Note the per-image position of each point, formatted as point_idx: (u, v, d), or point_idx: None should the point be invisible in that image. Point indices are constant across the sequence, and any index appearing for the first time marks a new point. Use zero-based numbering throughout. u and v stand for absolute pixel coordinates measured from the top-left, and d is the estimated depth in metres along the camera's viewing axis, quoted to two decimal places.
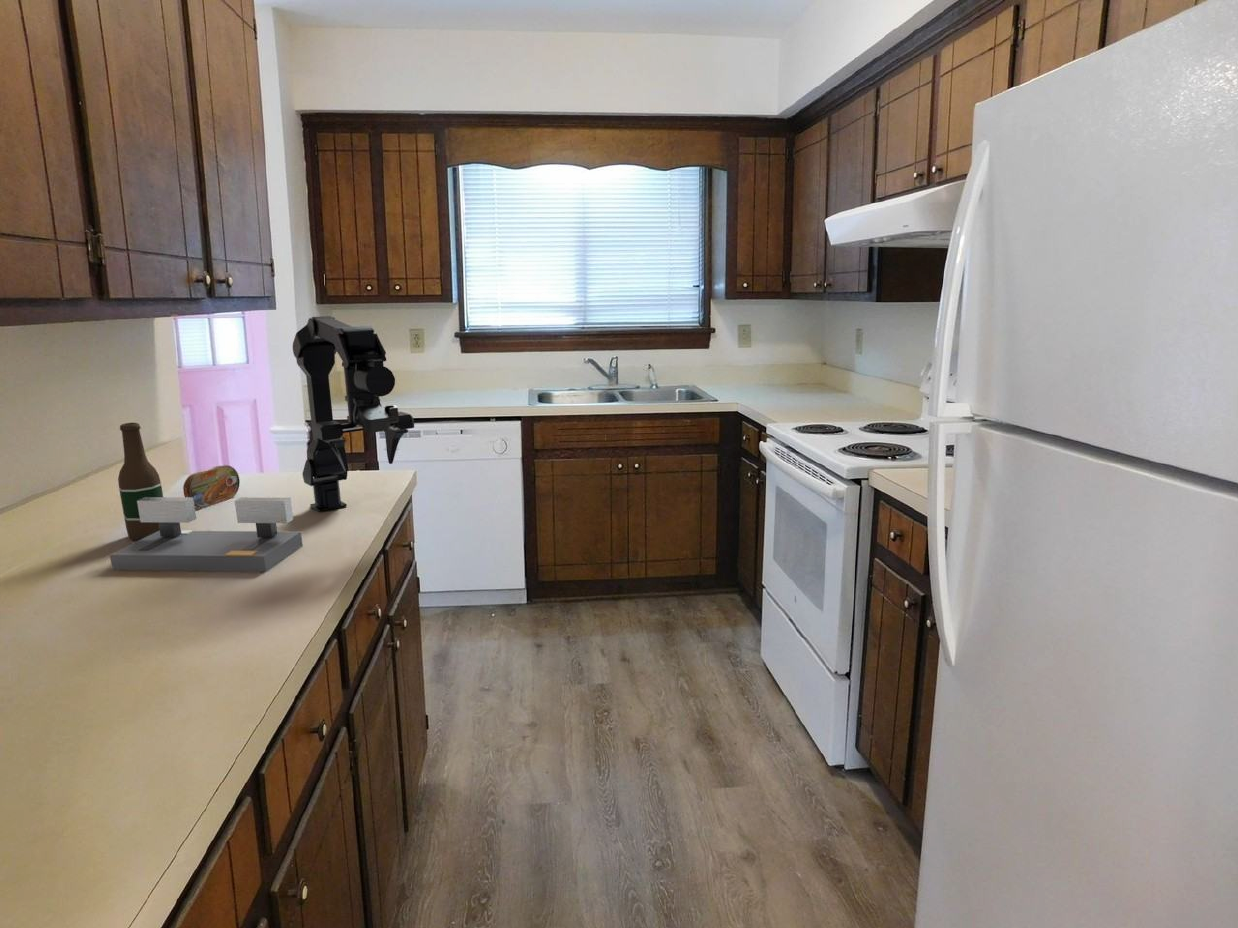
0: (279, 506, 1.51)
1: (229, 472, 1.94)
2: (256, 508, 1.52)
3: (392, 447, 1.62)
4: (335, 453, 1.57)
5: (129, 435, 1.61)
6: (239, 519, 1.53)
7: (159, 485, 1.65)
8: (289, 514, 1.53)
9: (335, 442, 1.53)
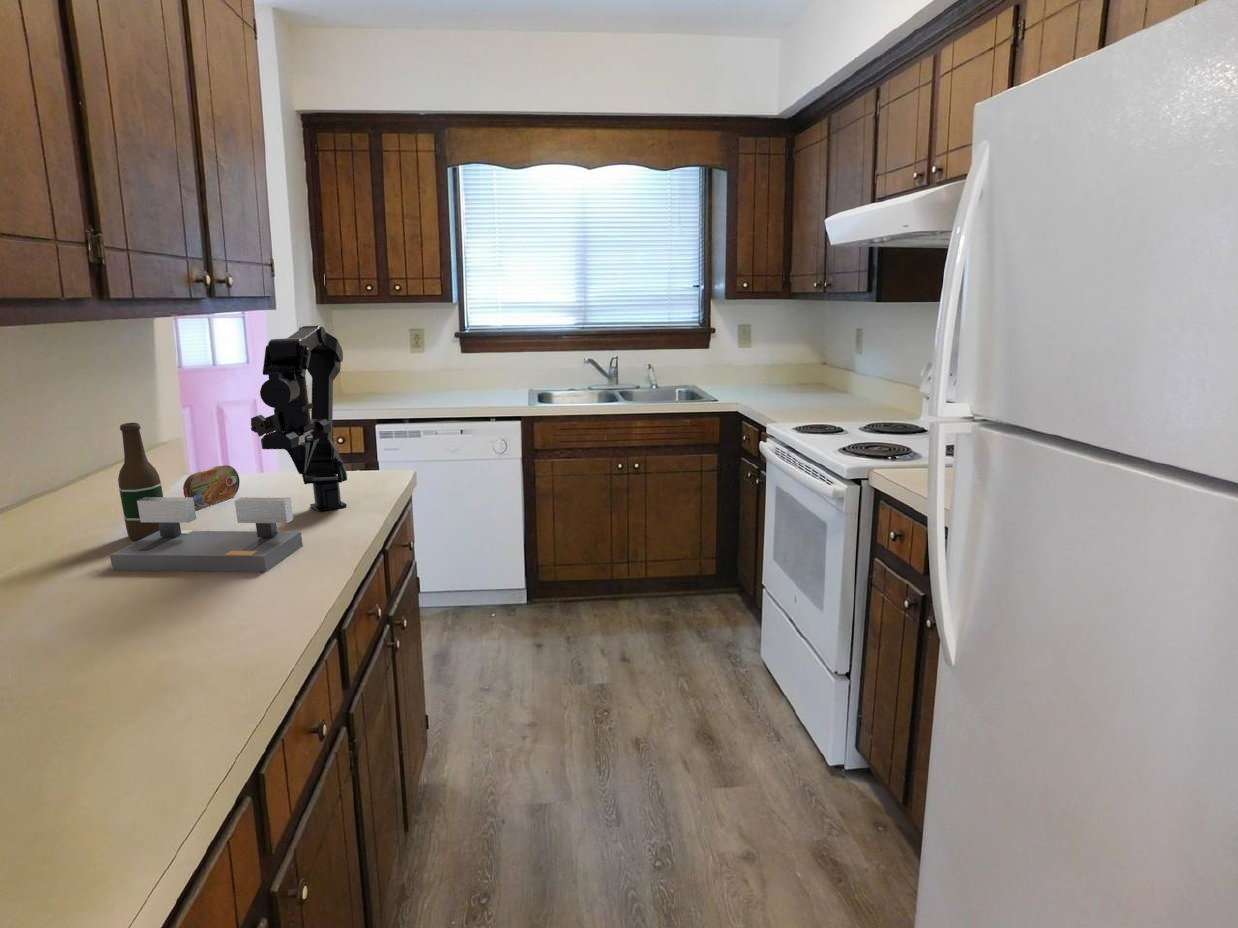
0: (279, 506, 1.51)
1: (228, 472, 1.94)
2: (256, 508, 1.52)
3: None
4: (311, 455, 1.67)
5: (129, 435, 1.61)
6: (239, 519, 1.53)
7: (159, 485, 1.65)
8: (289, 514, 1.53)
9: None
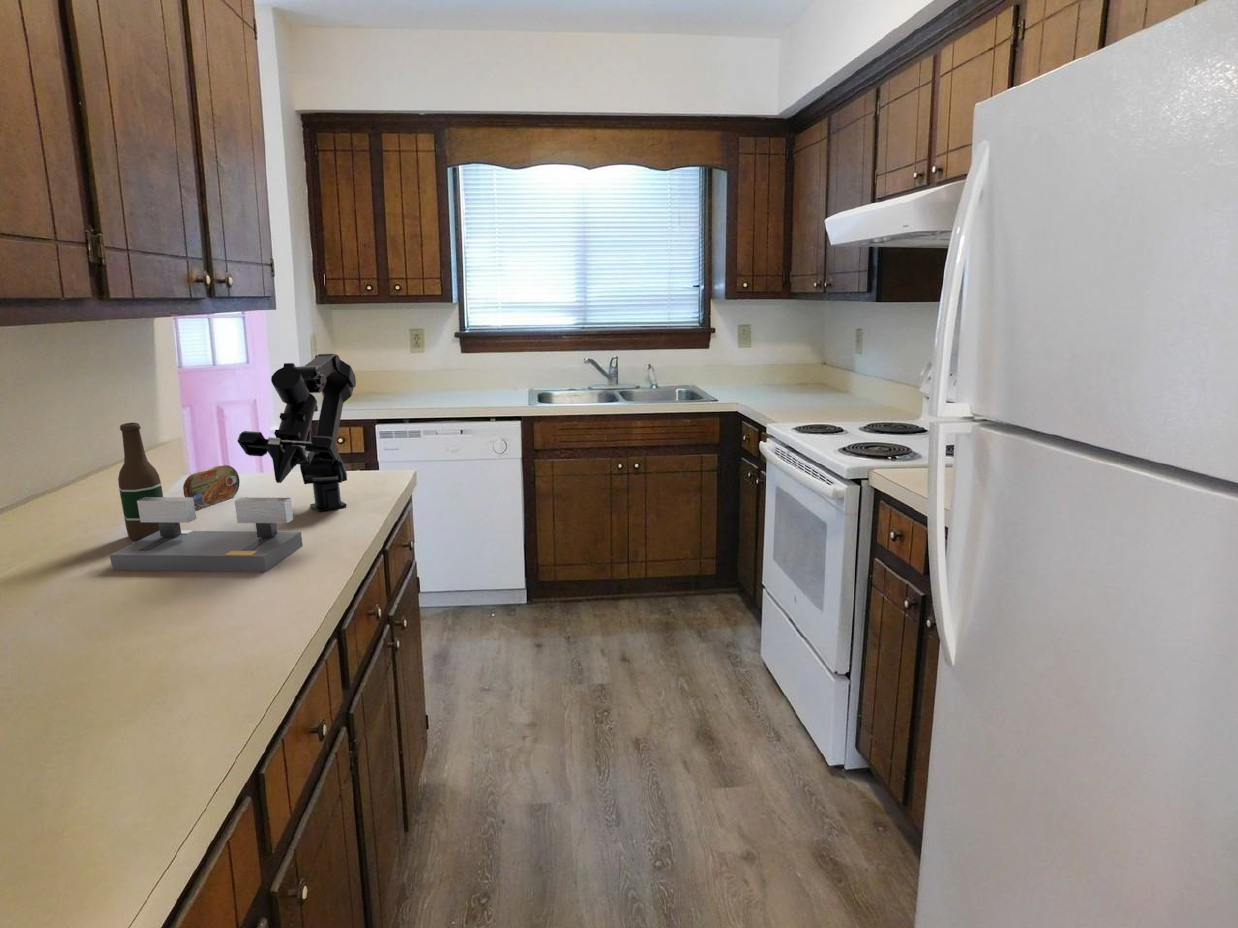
0: (279, 506, 1.51)
1: (228, 472, 1.94)
2: (256, 508, 1.52)
3: None
4: (287, 463, 1.59)
5: (129, 435, 1.61)
6: (239, 519, 1.53)
7: (159, 485, 1.65)
8: (289, 514, 1.53)
9: None
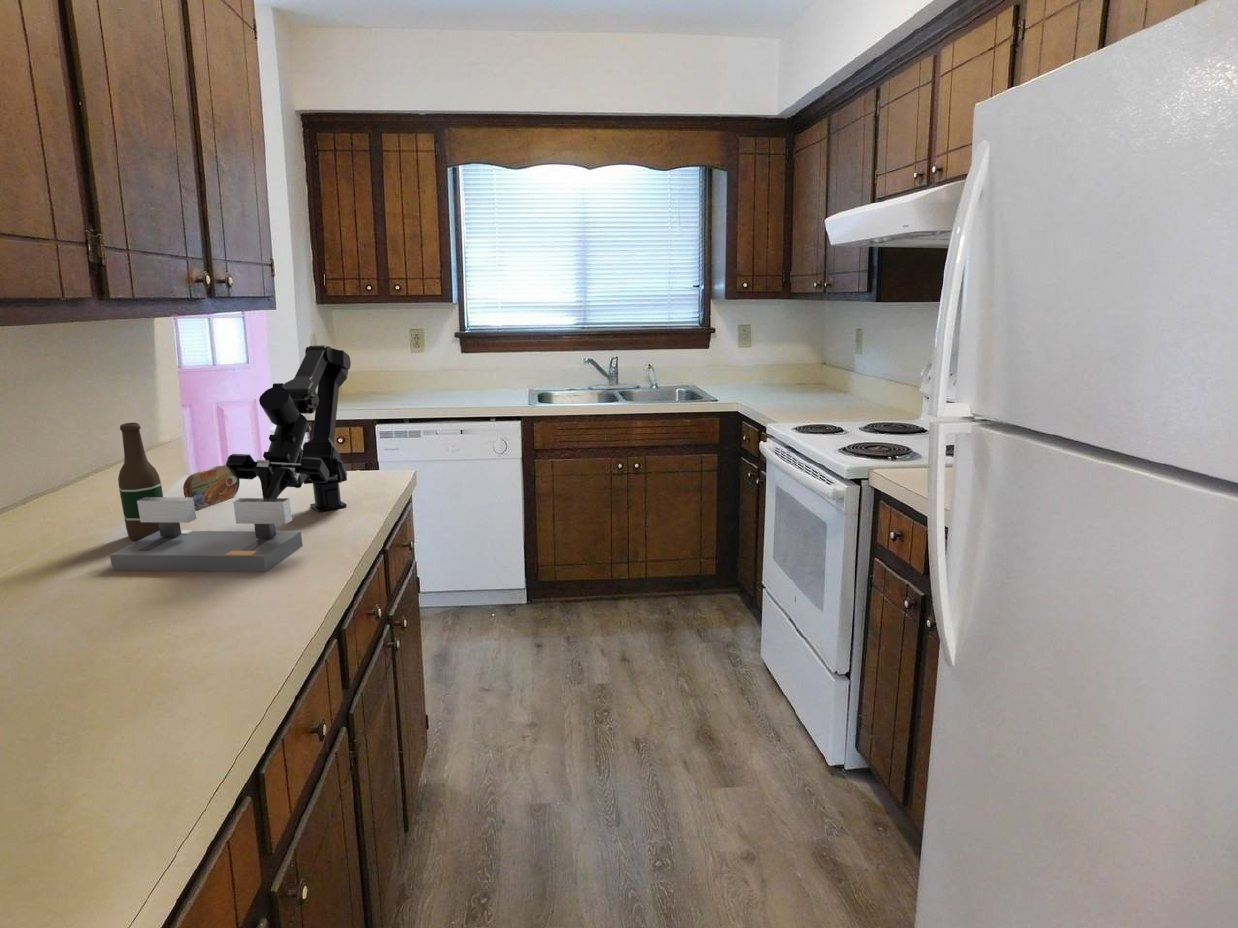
0: (277, 506, 1.51)
1: (228, 472, 1.94)
2: (255, 509, 1.51)
3: None
4: (275, 485, 1.54)
5: (129, 435, 1.61)
6: (238, 520, 1.52)
7: (159, 485, 1.65)
8: (288, 515, 1.52)
9: None
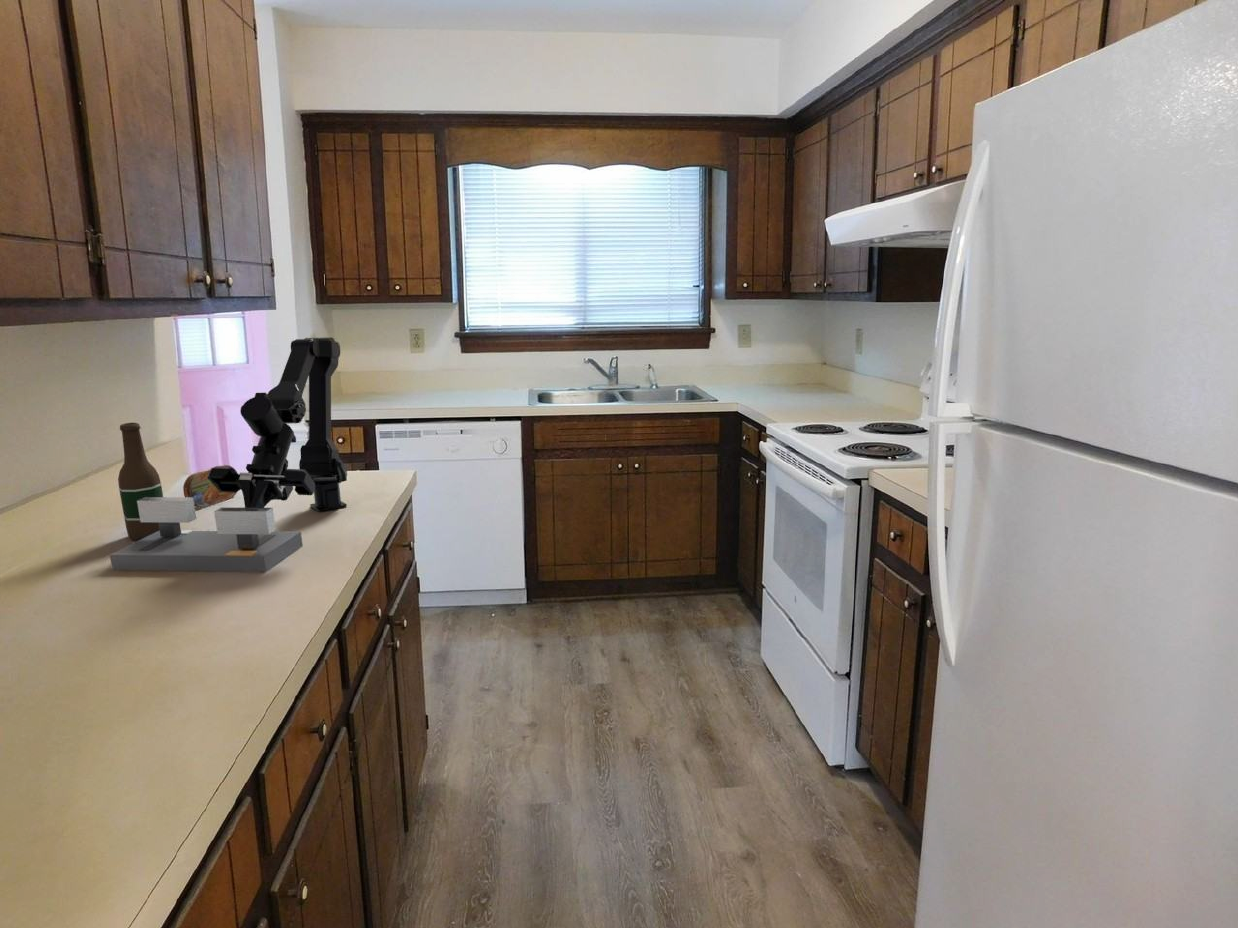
0: (260, 516, 1.45)
1: None
2: (237, 519, 1.45)
3: None
4: (258, 499, 1.49)
5: (129, 435, 1.61)
6: (219, 530, 1.46)
7: (159, 485, 1.65)
8: (271, 525, 1.47)
9: None
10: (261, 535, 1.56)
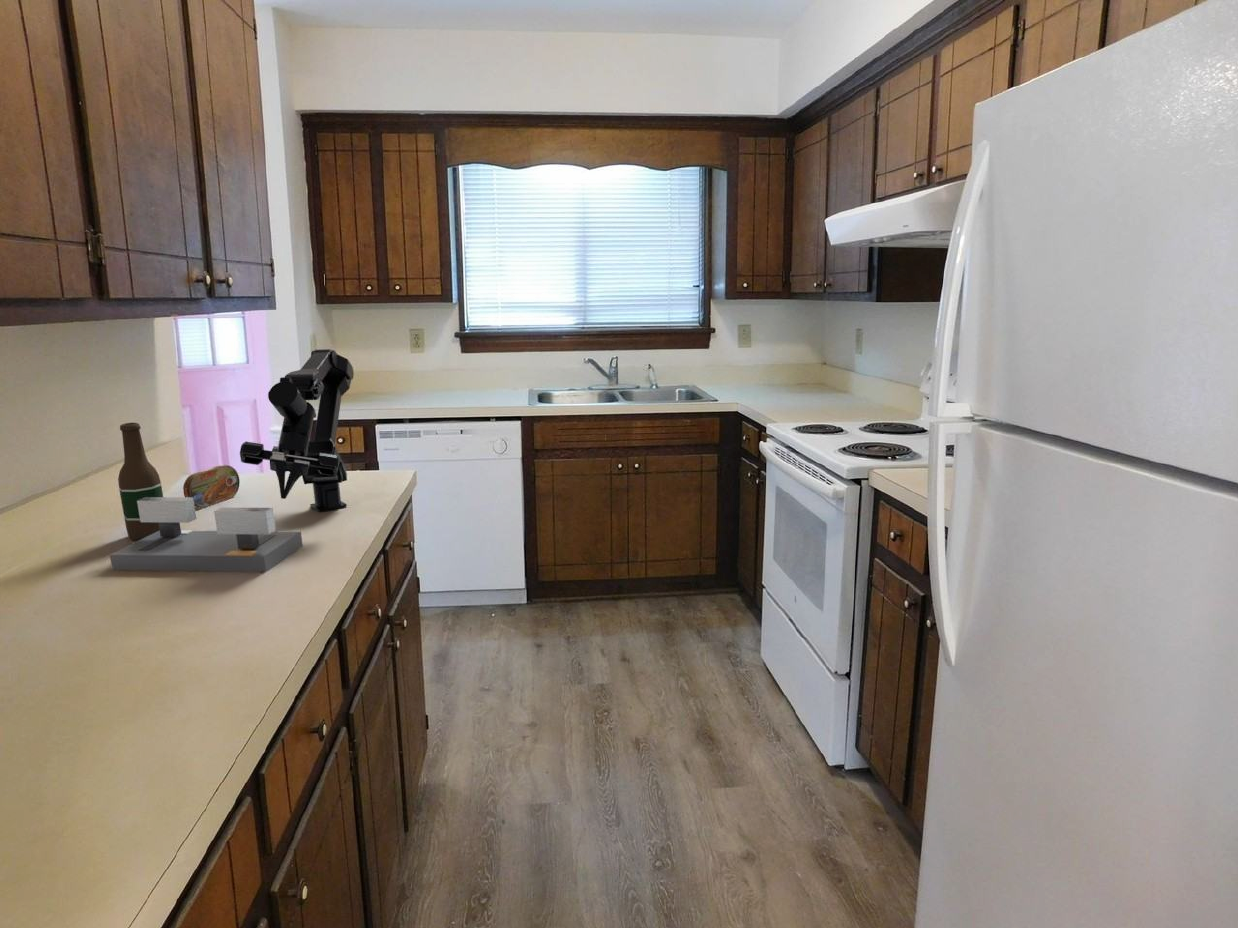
0: (260, 516, 1.45)
1: (228, 472, 1.94)
2: (237, 519, 1.45)
3: None
4: (293, 480, 1.60)
5: (129, 435, 1.61)
6: (219, 530, 1.46)
7: (159, 485, 1.65)
8: (271, 525, 1.46)
9: None
10: (261, 535, 1.56)
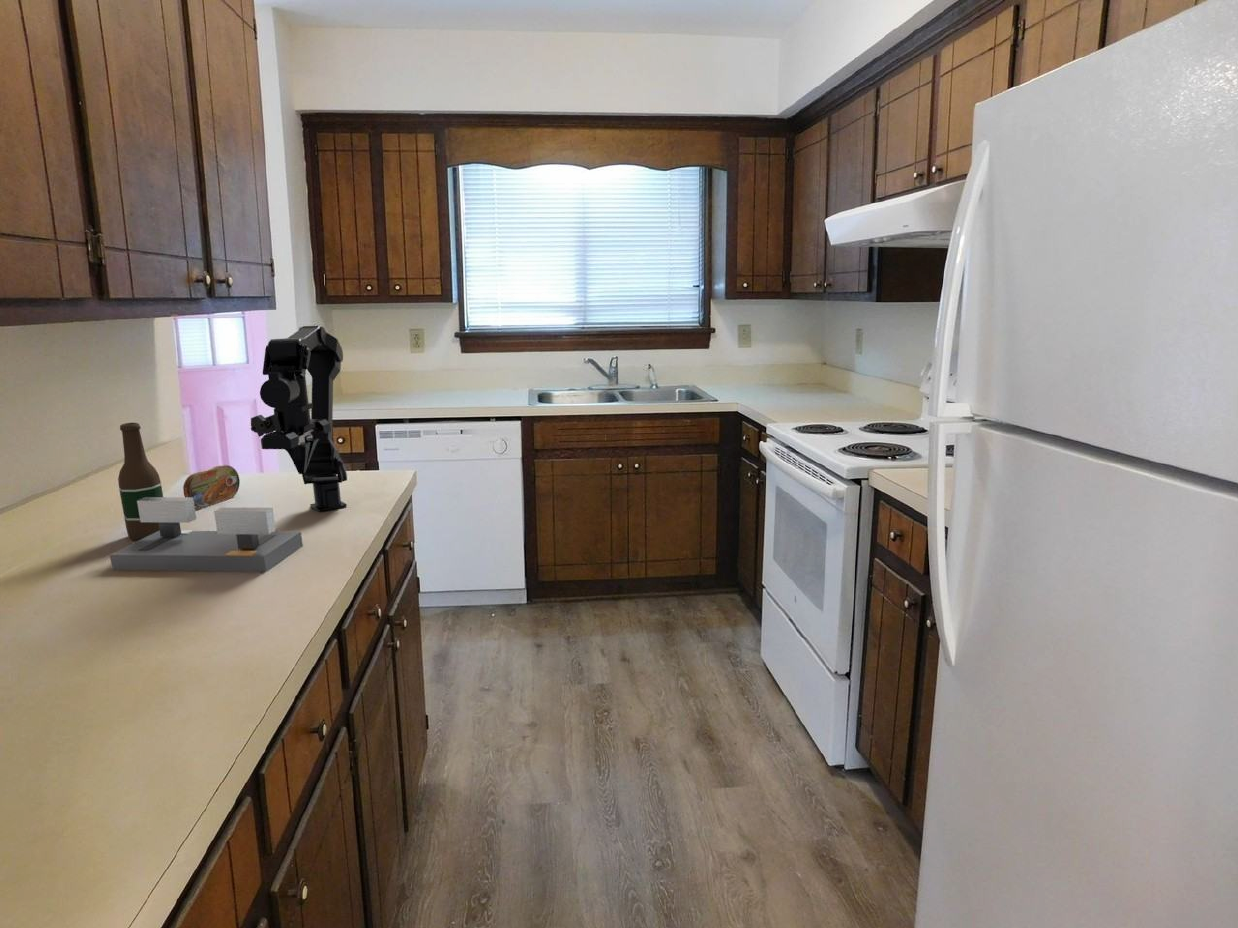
0: (260, 516, 1.45)
1: (229, 472, 1.94)
2: (237, 519, 1.45)
3: None
4: (311, 455, 1.67)
5: (129, 435, 1.61)
6: (219, 530, 1.46)
7: (159, 485, 1.65)
8: (271, 525, 1.46)
9: None
10: (261, 535, 1.56)
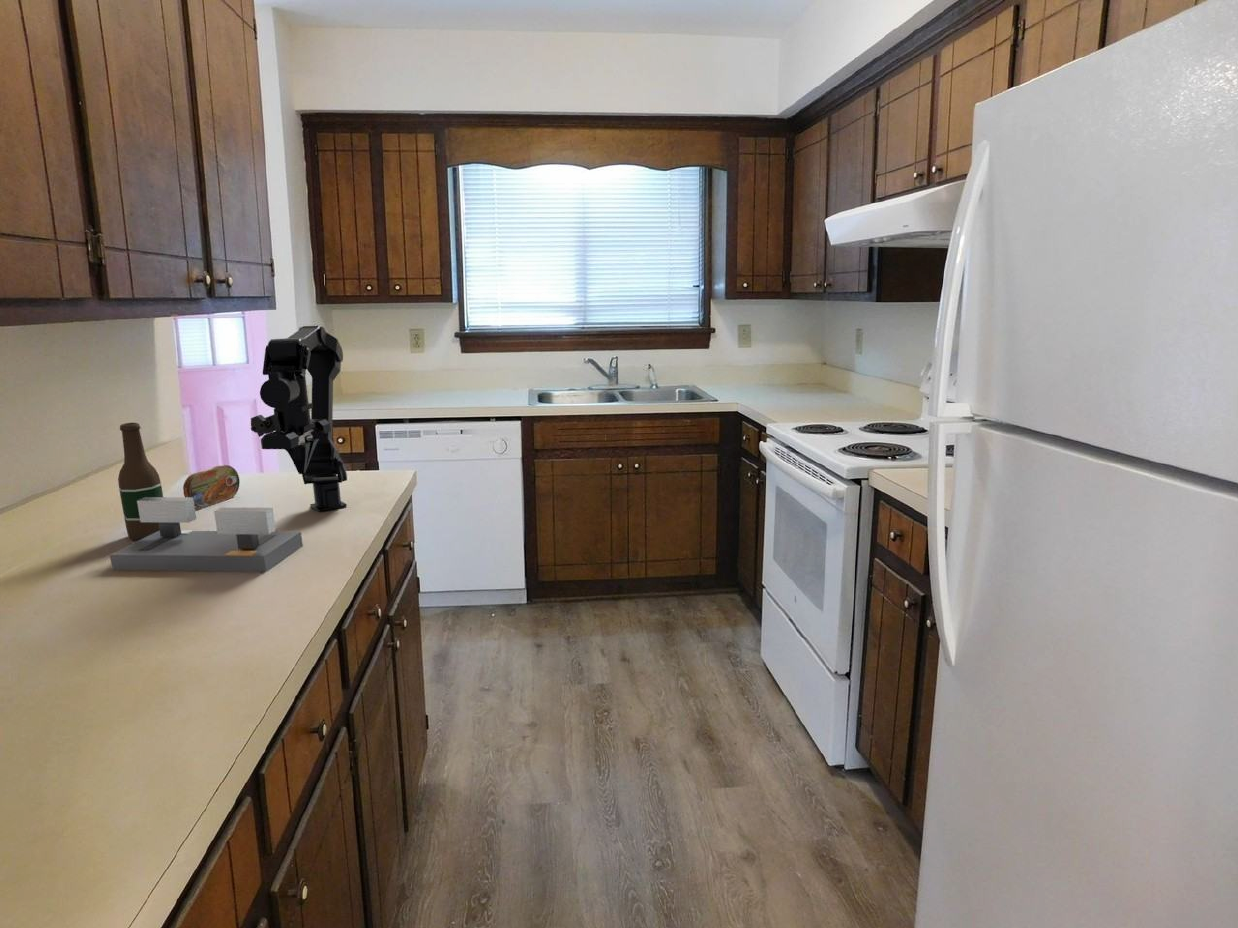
0: (260, 516, 1.45)
1: (228, 472, 1.94)
2: (237, 519, 1.45)
3: None
4: (311, 455, 1.67)
5: (129, 435, 1.61)
6: (219, 530, 1.46)
7: (159, 485, 1.65)
8: (271, 525, 1.46)
9: None
10: (261, 535, 1.56)
